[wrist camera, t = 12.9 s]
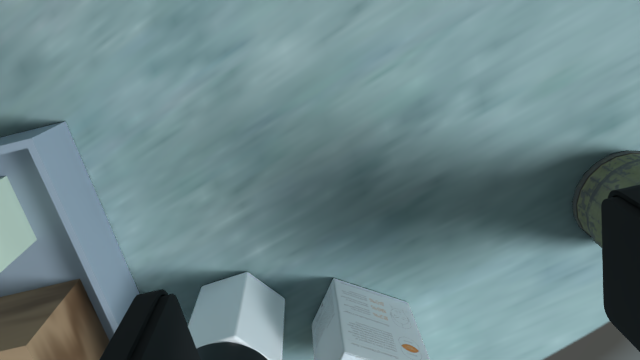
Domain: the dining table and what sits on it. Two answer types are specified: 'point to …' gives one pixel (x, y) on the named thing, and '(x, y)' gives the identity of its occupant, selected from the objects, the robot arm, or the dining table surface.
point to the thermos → (603, 189)
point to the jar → (238, 320)
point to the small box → (365, 326)
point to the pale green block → (12, 226)
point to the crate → (63, 224)
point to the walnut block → (51, 324)
